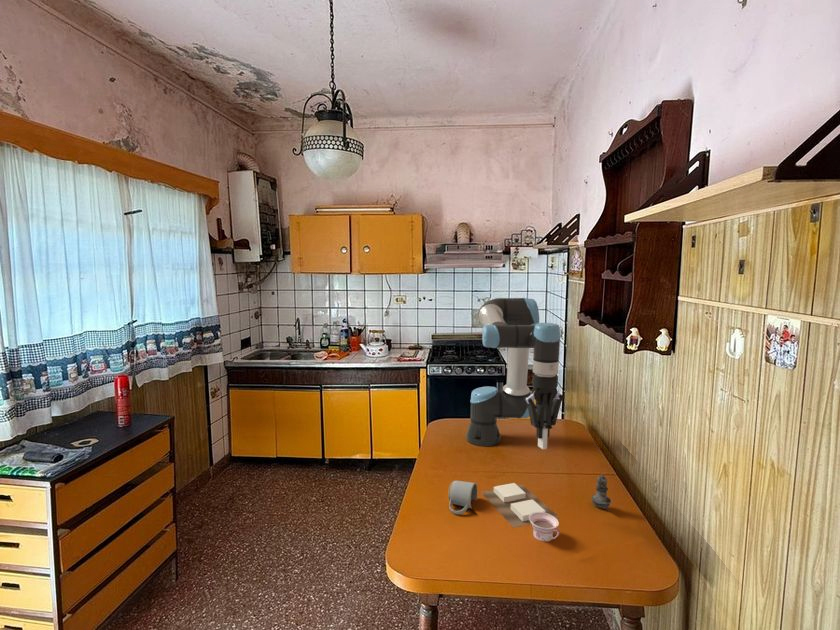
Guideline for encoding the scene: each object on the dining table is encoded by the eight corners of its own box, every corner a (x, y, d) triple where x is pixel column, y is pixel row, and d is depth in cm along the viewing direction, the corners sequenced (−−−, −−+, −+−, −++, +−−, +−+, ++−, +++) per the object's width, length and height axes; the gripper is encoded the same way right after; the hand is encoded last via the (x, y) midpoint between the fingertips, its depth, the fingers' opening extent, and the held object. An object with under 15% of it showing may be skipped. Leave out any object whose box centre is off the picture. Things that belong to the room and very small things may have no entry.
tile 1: (514, 488, 148) (493, 492, 146) (514, 482, 148) (493, 486, 146) (525, 498, 142) (504, 502, 139) (525, 493, 142) (504, 497, 139)
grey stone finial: (586, 506, 139) (588, 471, 138) (600, 502, 142) (602, 468, 140) (600, 516, 134) (602, 480, 133) (614, 512, 136) (616, 476, 135)
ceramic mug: (454, 495, 146) (454, 474, 145) (477, 501, 143) (478, 479, 142) (443, 512, 136) (443, 489, 135) (468, 518, 133) (468, 495, 132)
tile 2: (532, 505, 138) (510, 509, 136) (532, 499, 138) (510, 503, 135) (545, 517, 132) (522, 522, 129) (545, 511, 131) (522, 515, 129)
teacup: (513, 538, 123) (514, 518, 123) (536, 522, 131) (537, 503, 131) (550, 560, 114) (551, 538, 114) (573, 541, 122) (574, 520, 122)
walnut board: (480, 495, 146) (480, 491, 146) (521, 487, 151) (521, 484, 151) (513, 531, 126) (513, 527, 126) (559, 521, 132) (559, 517, 131)
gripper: (533, 379, 126) (531, 455, 129) (571, 375, 130) (567, 449, 133) (520, 372, 133) (517, 445, 136) (555, 369, 137) (552, 439, 140)
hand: (542, 447), depth 134 cm, fingers closed
